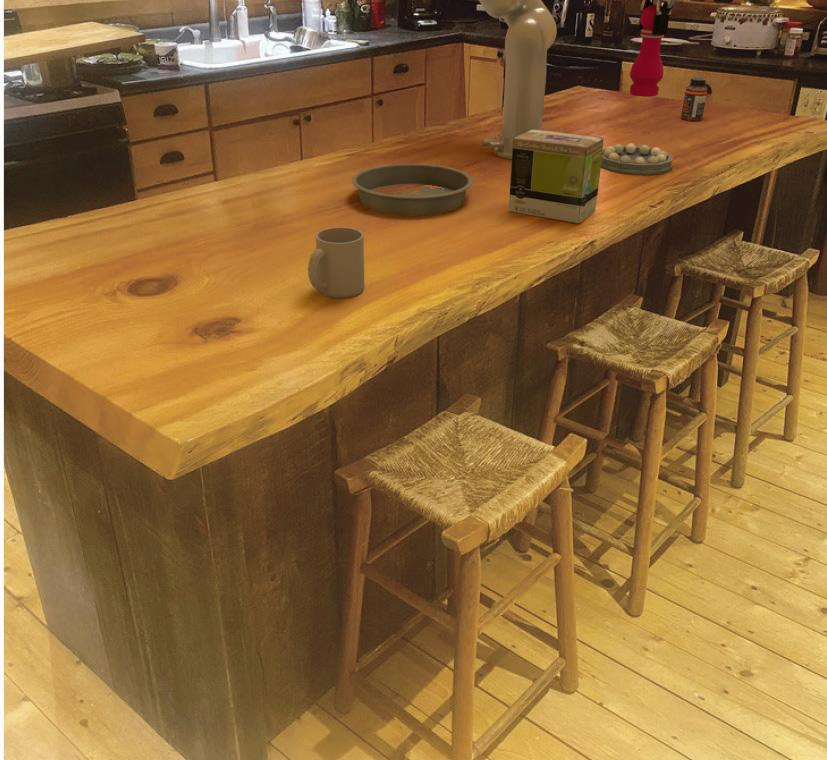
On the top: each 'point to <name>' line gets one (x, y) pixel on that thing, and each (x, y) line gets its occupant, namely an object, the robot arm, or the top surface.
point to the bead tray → (634, 166)
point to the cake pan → (413, 203)
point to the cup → (338, 262)
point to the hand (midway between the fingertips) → (652, 31)
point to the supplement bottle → (694, 100)
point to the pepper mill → (647, 58)
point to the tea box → (555, 175)
